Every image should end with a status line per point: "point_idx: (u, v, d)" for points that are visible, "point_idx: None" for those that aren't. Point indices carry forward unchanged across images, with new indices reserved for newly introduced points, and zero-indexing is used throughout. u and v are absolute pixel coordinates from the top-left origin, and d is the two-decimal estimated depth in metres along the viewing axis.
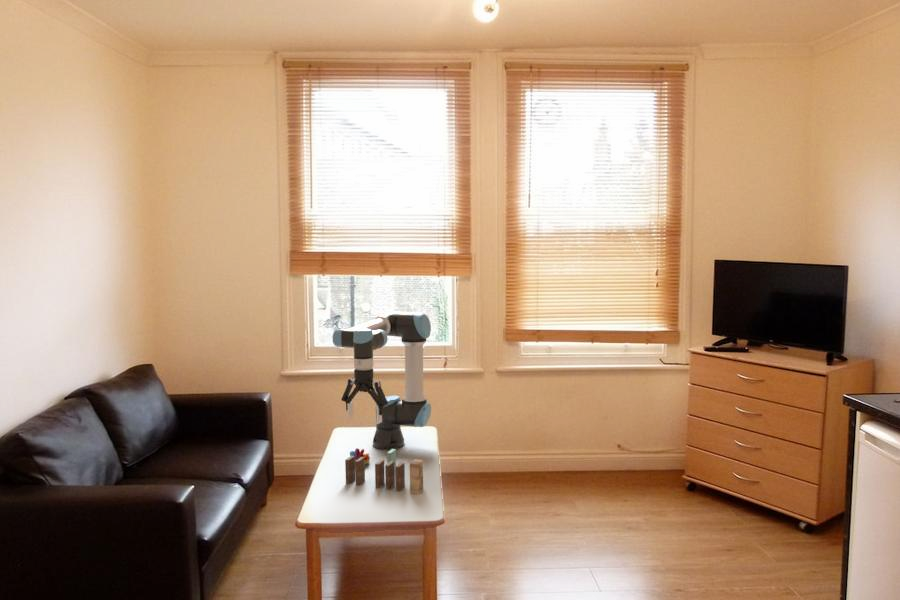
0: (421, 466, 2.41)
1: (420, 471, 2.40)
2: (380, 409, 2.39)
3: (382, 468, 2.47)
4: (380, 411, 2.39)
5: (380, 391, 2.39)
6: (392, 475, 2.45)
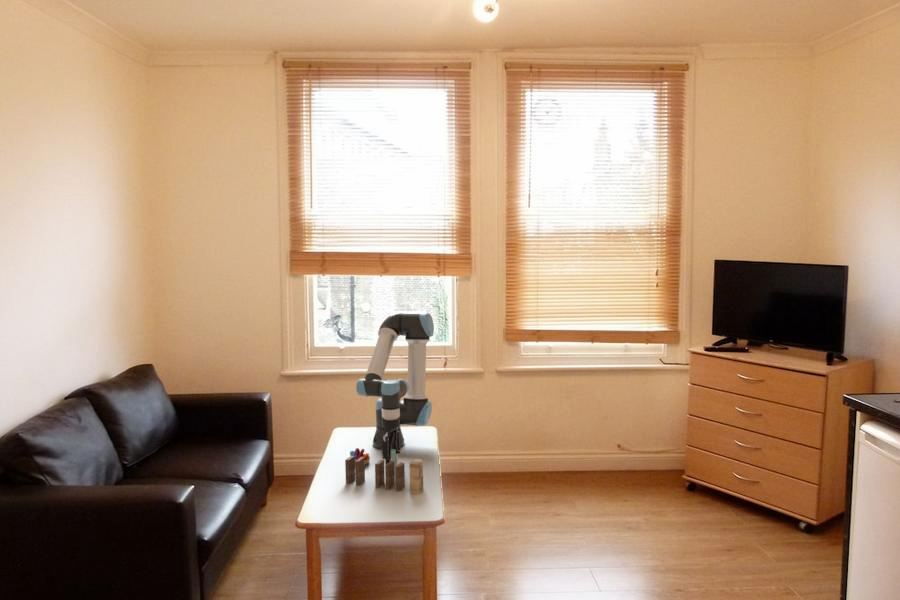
0: (421, 466, 2.41)
1: (420, 471, 2.40)
2: None
3: (382, 468, 2.47)
4: None
5: (384, 445, 2.52)
6: (392, 475, 2.45)
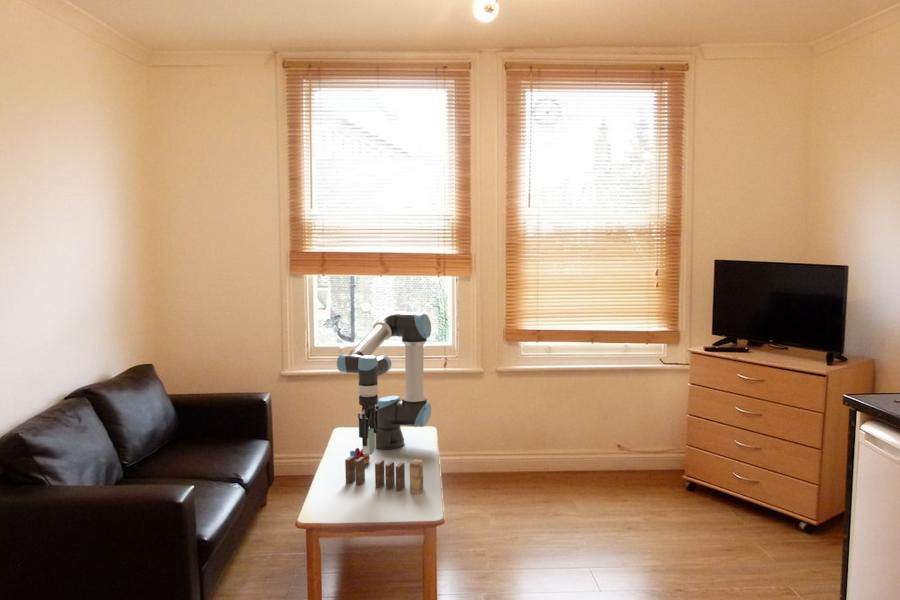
0: (421, 466, 2.41)
1: (420, 471, 2.40)
2: None
3: (382, 468, 2.47)
4: None
5: (360, 423, 2.40)
6: (392, 475, 2.45)
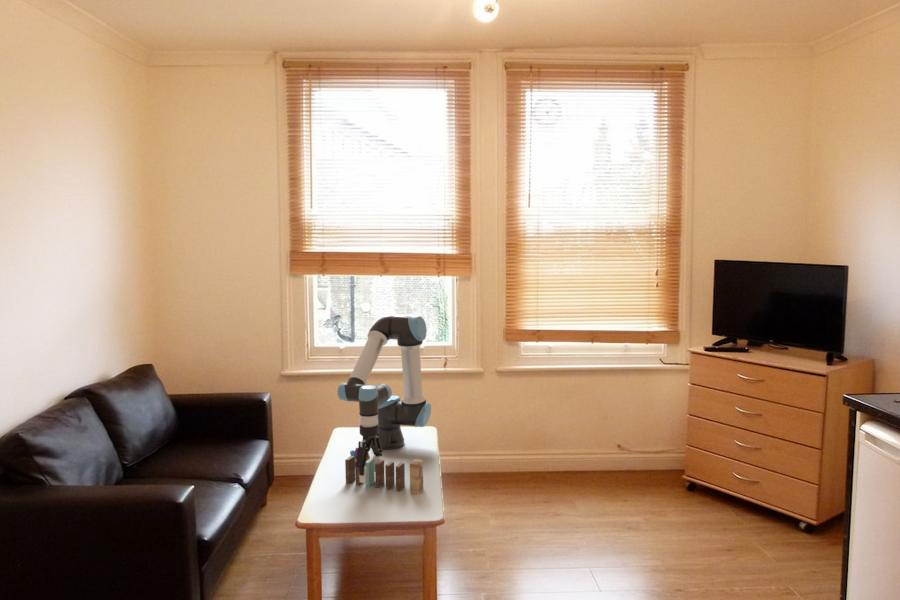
0: (421, 466, 2.41)
1: (420, 471, 2.40)
2: None
3: (382, 468, 2.47)
4: None
5: (359, 452, 2.40)
6: (392, 475, 2.45)
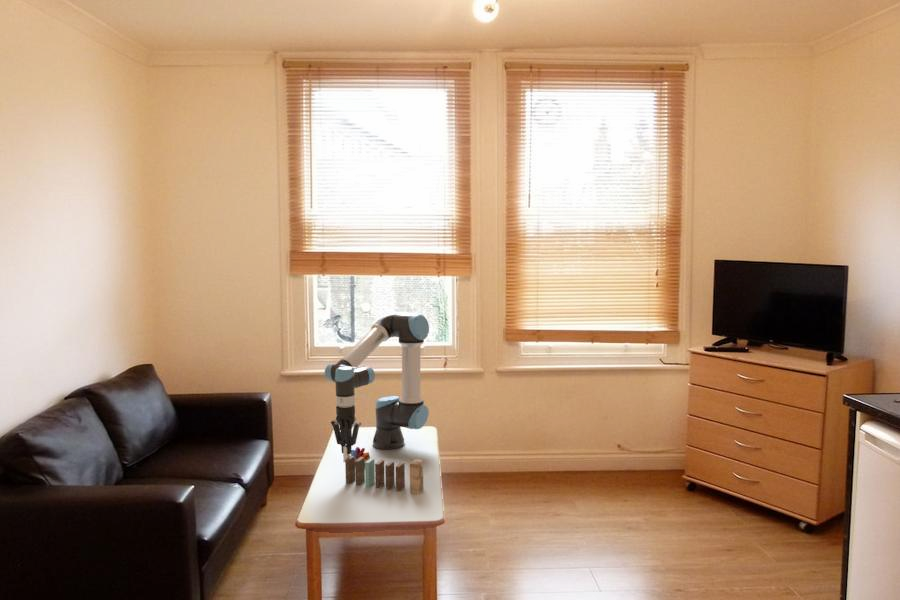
0: (421, 466, 2.41)
1: (420, 471, 2.40)
2: (348, 448, 2.50)
3: (382, 468, 2.47)
4: (348, 450, 2.50)
5: (356, 432, 2.48)
6: (392, 475, 2.45)
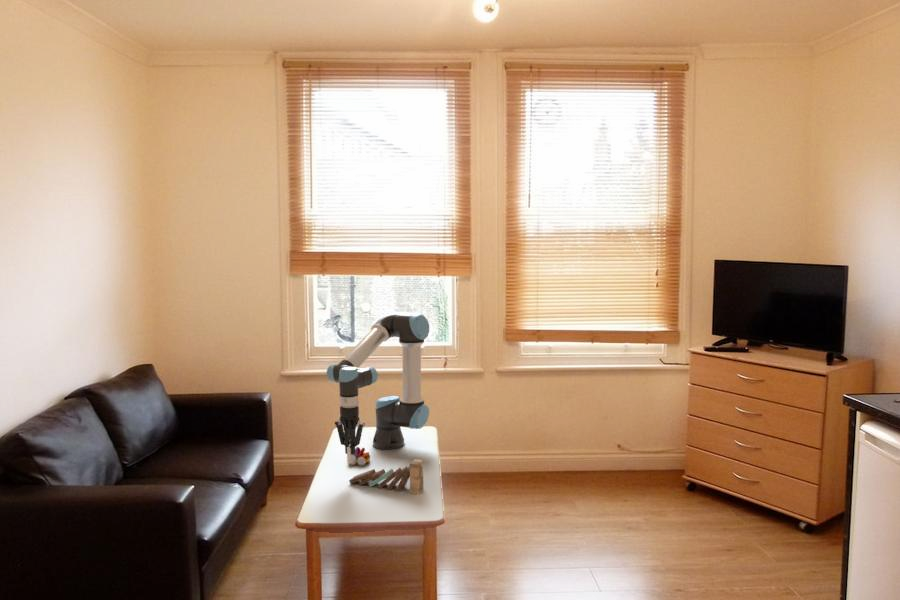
0: (421, 466, 2.41)
1: (420, 471, 2.40)
2: (352, 449, 2.49)
3: None
4: (352, 451, 2.49)
5: (360, 433, 2.47)
6: None
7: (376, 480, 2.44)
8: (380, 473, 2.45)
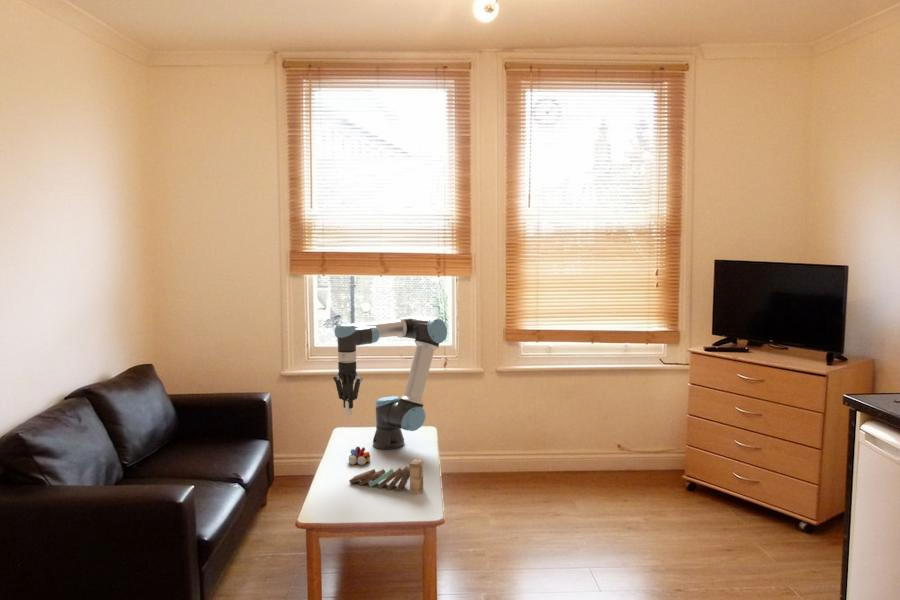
0: (421, 466, 2.41)
1: (420, 471, 2.40)
2: (350, 403, 2.59)
3: None
4: (350, 405, 2.59)
5: (357, 387, 2.57)
6: (399, 479, 2.44)
7: (376, 480, 2.44)
8: (380, 473, 2.45)
